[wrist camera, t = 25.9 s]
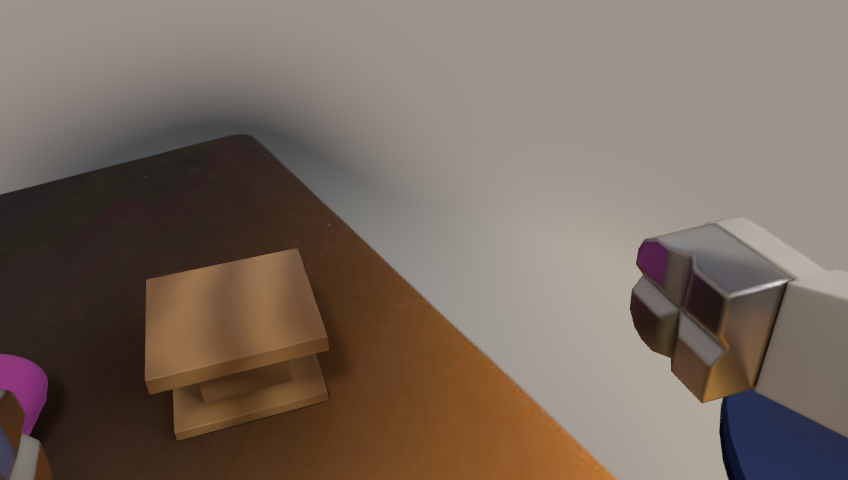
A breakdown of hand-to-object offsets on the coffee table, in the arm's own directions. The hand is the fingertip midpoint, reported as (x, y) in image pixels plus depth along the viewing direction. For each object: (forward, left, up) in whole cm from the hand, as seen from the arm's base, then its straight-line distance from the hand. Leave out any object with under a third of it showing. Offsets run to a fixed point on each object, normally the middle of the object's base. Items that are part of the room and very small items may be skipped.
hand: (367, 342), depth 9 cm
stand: (+3, -32, -28) cm, 43 cm away
